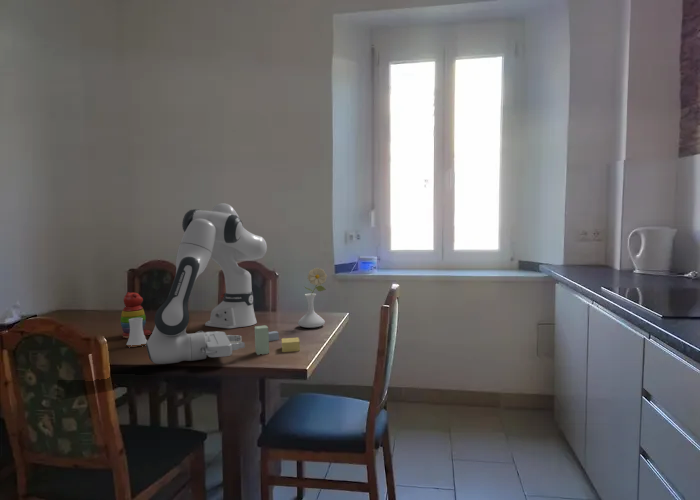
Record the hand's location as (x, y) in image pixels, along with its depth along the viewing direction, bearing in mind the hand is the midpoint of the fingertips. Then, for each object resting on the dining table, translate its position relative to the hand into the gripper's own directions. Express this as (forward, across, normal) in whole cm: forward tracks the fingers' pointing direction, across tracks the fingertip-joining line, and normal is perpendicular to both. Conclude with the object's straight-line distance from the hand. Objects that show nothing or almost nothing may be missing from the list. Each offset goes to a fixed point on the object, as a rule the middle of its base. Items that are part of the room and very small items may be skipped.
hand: (242, 341), depth 167 cm
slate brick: (+13, +16, +5) cm, 21 cm away
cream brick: (-1, +16, +5) cm, 17 cm away
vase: (-34, +32, +5) cm, 47 cm away
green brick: (+7, 0, +5) cm, 8 cm away
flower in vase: (+34, +30, +5) cm, 45 cm away
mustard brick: (+17, 0, +5) cm, 17 cm away
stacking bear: (-36, +49, +5) cm, 61 cm away
